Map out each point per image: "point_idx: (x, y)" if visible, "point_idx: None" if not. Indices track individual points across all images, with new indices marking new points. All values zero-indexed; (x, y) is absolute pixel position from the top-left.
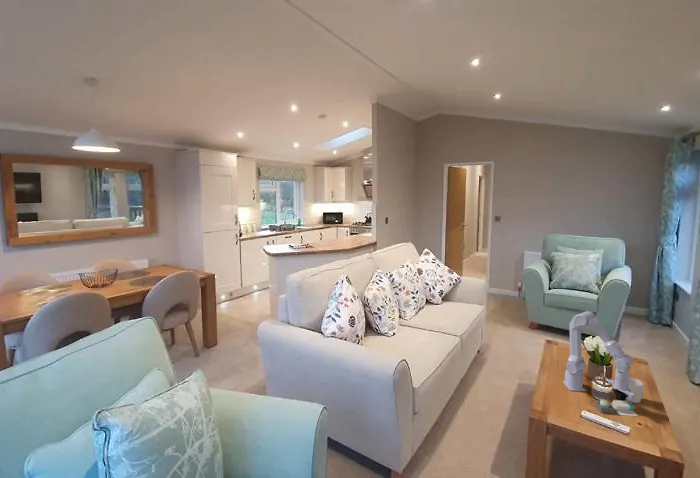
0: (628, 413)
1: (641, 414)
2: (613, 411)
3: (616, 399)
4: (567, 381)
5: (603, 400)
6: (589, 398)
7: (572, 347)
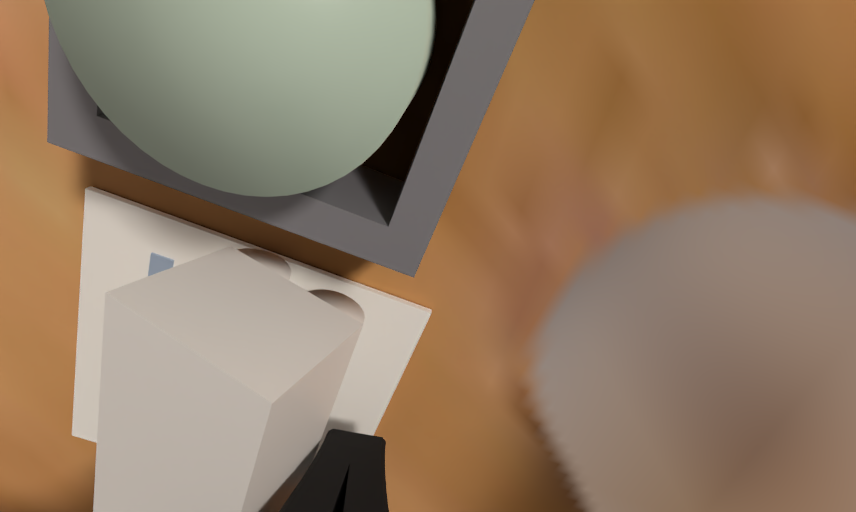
0: None
1: None
2: None
3: (371, 505)
4: None
5: (352, 63)
6: (851, 101)
7: None
